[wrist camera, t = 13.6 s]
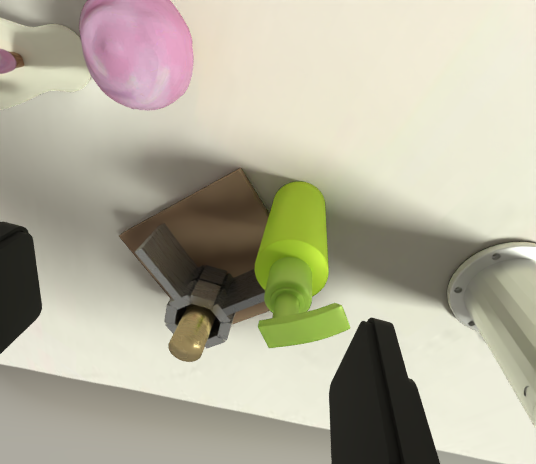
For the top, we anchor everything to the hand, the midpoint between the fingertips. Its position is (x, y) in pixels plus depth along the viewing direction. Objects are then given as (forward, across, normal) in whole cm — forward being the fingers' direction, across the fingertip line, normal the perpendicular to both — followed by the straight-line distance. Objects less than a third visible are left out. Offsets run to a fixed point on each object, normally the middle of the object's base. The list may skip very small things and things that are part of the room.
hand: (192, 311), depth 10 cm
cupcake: (+29, +12, -4) cm, 31 cm away
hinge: (+27, +4, +18) cm, 33 cm away
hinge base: (+28, +4, +18) cm, 34 cm away
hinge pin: (+27, +4, +23) cm, 36 cm away
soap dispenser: (+29, -4, +8) cm, 30 cm away
